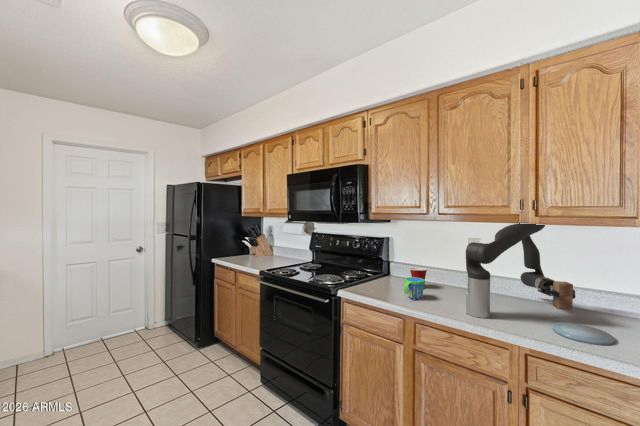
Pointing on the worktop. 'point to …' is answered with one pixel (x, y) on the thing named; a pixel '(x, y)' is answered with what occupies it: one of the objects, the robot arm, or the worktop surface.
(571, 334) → the slate plate
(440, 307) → the worktop surface
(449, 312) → the worktop surface
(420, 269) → the plastic cup
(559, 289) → the walnut block
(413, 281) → the snack cup
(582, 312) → the worktop surface
